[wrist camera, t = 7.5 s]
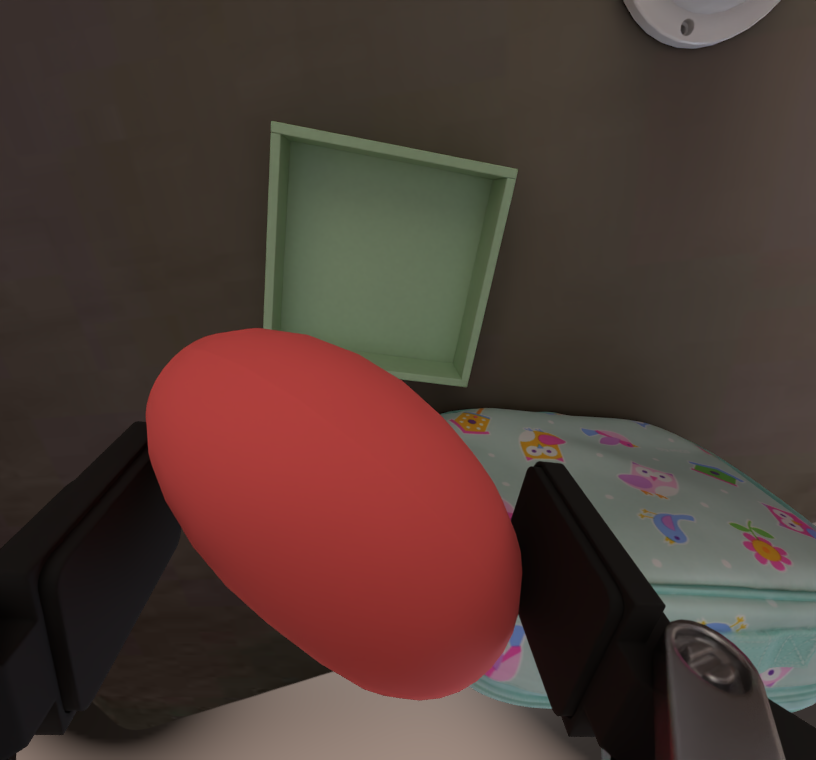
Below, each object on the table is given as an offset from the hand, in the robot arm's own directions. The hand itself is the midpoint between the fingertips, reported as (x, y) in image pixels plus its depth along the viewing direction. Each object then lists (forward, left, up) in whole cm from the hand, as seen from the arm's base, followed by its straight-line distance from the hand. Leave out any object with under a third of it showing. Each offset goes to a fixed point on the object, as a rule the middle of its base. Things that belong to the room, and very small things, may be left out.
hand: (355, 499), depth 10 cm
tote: (-2, +1, -25) cm, 25 cm away
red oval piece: (0, 0, -1) cm, 1 cm away
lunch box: (+13, +18, -25) cm, 34 cm away
